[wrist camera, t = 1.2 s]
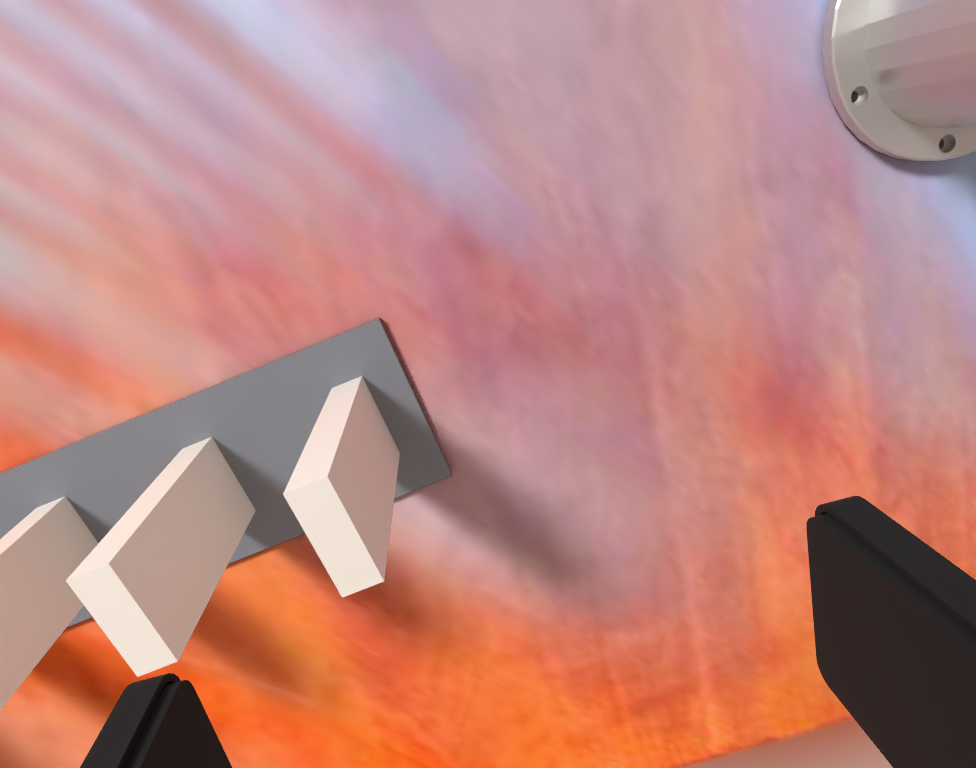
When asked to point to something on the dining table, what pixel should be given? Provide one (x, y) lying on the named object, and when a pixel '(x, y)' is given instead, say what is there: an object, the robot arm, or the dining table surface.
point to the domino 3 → (347, 488)
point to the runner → (233, 441)
